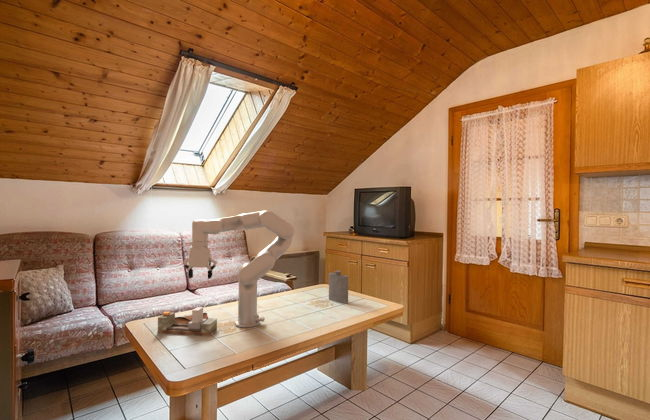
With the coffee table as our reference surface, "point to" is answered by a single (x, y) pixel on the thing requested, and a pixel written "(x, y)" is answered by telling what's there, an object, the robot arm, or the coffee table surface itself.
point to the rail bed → (185, 326)
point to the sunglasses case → (187, 319)
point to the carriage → (197, 318)
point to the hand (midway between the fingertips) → (200, 278)
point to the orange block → (166, 313)
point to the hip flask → (338, 287)
